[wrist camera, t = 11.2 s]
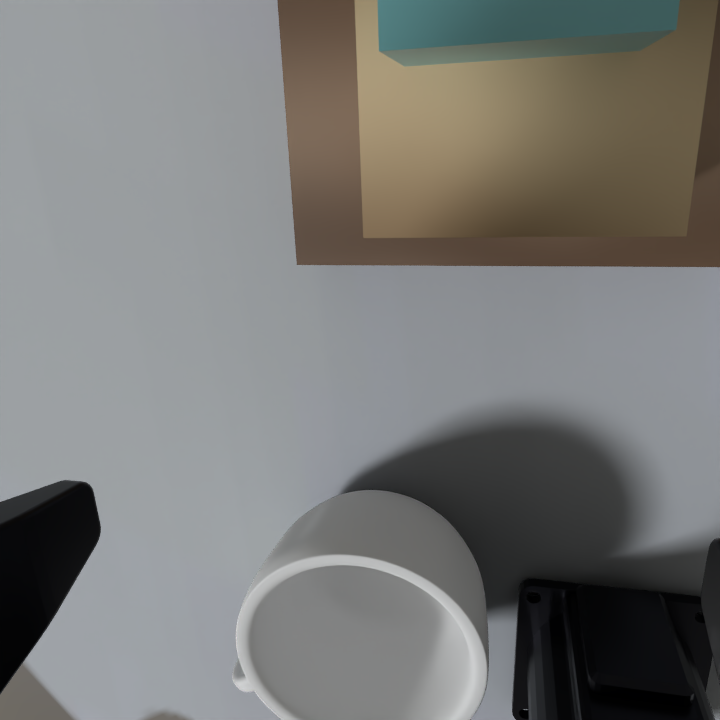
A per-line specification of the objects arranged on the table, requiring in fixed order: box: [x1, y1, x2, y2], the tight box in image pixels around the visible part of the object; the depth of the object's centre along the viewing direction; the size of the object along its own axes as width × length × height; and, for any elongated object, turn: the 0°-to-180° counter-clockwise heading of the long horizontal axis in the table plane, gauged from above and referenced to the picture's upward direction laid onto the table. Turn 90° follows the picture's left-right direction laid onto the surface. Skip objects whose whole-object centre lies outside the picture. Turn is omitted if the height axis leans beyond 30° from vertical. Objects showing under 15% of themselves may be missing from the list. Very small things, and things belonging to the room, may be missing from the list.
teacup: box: [232, 490, 489, 720], centre depth 22 cm, size 10×8×5 cm
